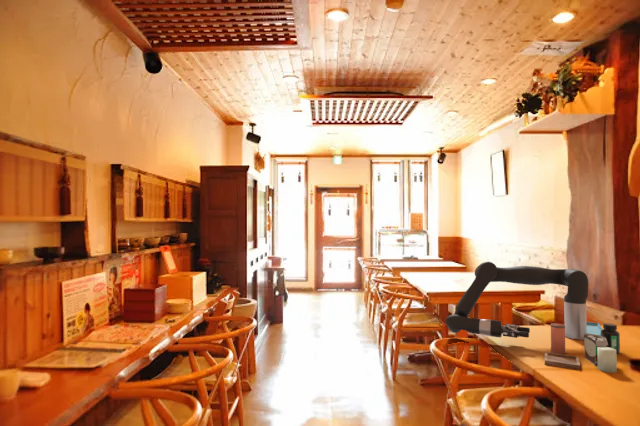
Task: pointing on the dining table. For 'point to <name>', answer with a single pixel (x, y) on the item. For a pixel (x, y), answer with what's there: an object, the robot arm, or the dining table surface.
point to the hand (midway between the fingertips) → (529, 332)
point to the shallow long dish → (593, 328)
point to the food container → (593, 346)
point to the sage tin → (607, 359)
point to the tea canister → (557, 338)
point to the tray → (562, 360)
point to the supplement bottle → (611, 336)
